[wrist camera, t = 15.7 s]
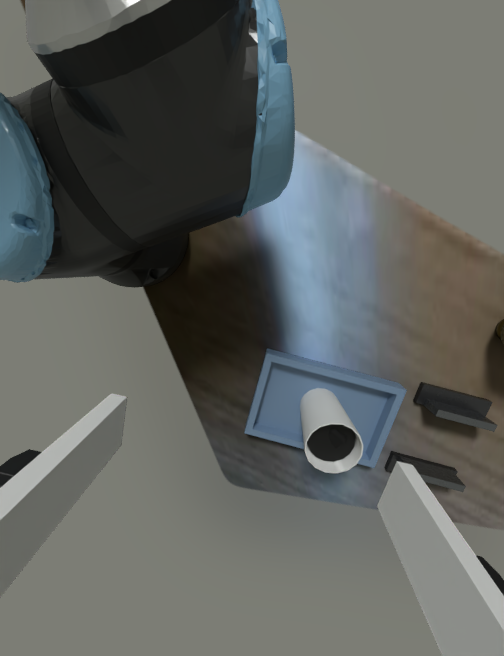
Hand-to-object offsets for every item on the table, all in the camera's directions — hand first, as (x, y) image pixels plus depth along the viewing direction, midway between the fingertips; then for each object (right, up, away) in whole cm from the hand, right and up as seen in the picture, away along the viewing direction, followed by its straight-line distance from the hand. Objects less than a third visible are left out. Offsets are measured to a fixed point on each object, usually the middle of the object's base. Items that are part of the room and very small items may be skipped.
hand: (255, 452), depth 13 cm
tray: (+10, -6, +29) cm, 31 cm away
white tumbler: (+10, -6, +28) cm, 31 cm away
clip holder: (+27, -10, +28) cm, 41 cm away
